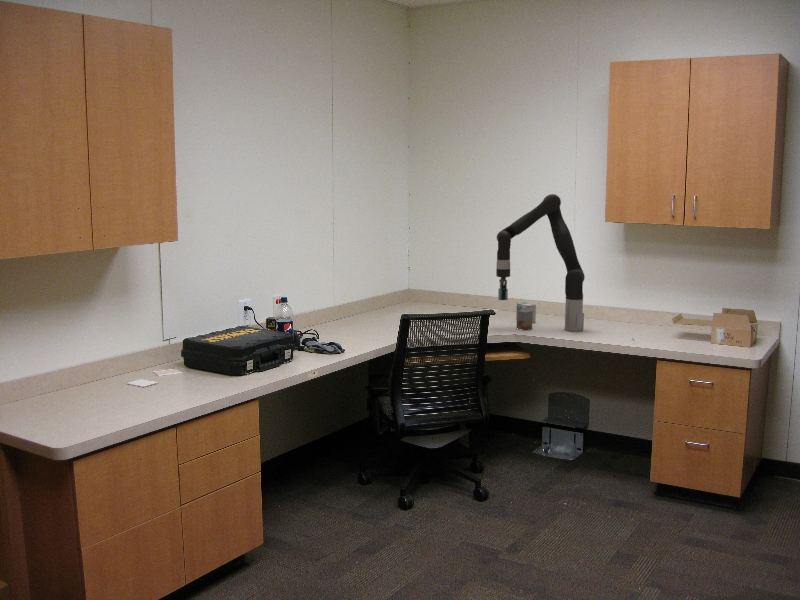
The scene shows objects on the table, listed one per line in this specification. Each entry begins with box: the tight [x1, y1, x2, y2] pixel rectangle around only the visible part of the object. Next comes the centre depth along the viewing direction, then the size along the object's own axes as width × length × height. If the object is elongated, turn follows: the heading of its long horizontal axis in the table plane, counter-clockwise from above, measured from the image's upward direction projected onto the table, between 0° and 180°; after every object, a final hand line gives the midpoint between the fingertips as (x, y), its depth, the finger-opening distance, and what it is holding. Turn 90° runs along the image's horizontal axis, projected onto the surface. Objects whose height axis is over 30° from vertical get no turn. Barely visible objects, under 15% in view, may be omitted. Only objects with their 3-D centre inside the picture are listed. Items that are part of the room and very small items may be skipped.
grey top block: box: [516, 310, 533, 321], centre depth 441 cm, size 6×6×5 cm
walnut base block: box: [516, 320, 533, 331], centre depth 442 cm, size 6×6×5 cm
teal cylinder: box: [497, 287, 509, 301], centre depth 441 cm, size 5×5×6 cm
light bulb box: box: [515, 301, 537, 324], centre depth 462 cm, size 11×7×11 cm, turn 25°
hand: (503, 298), depth 441 cm, fingers closed on teal cylinder, 5 cm apart
